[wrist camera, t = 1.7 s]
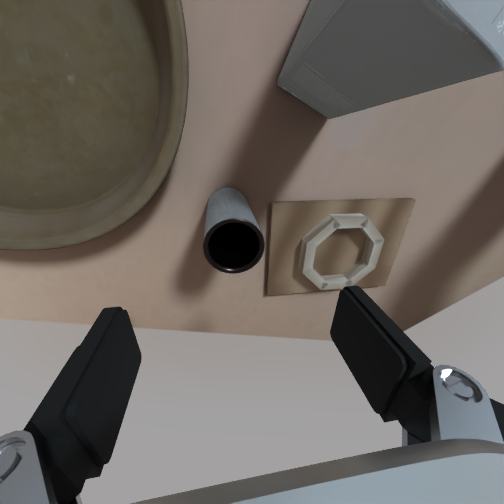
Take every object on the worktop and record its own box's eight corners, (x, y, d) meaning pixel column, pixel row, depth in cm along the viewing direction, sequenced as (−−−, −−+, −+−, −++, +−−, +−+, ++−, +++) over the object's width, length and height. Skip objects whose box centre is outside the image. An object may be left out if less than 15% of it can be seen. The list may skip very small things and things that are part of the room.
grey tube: (208, 183, 24) (205, 214, 15) (250, 190, 25) (271, 222, 16) (205, 223, 26) (200, 272, 17) (244, 228, 27) (258, 276, 18)
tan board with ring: (410, 198, 28) (426, 203, 26) (381, 282, 34) (392, 292, 32) (271, 201, 26) (276, 207, 23) (266, 292, 32) (269, 303, 30)
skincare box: (327, 120, 23) (505, 100, 9) (266, 79, 20) (377, -39, 6) (381, 20, 19) (792, -258, 6) (317, -42, 17) (746, -777, 3)
